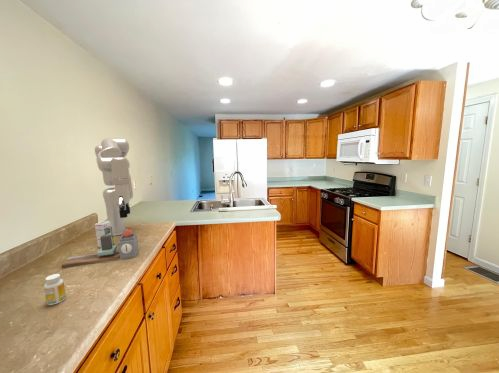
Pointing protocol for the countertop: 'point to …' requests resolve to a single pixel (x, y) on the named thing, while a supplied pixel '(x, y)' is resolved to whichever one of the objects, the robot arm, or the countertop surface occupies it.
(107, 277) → the countertop surface
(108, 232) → the syrup box
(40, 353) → the countertop surface
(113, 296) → the countertop surface
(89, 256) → the rail bed
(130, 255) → the cabinet
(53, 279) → the supplement bottle
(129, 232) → the button
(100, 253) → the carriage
